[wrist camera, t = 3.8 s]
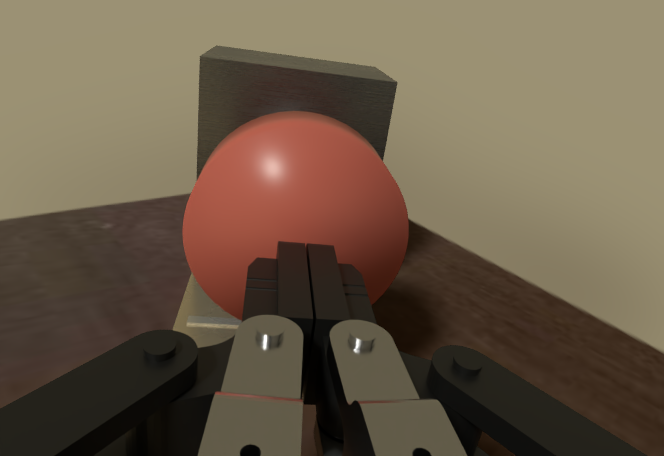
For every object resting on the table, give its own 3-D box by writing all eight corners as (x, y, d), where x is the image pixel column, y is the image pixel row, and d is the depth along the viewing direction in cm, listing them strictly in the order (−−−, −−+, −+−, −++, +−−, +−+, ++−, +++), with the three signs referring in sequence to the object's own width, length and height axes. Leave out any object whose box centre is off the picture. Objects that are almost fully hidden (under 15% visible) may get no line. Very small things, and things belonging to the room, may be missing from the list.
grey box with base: (208, 240, 32) (216, 45, 27) (344, 251, 33) (375, 67, 28) (160, 396, 19) (158, 83, 14) (383, 404, 20) (450, 119, 16)
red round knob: (217, 209, 25) (224, 69, 23) (350, 221, 26) (372, 88, 23) (181, 326, 16) (184, 114, 13) (386, 337, 17) (430, 142, 14)
